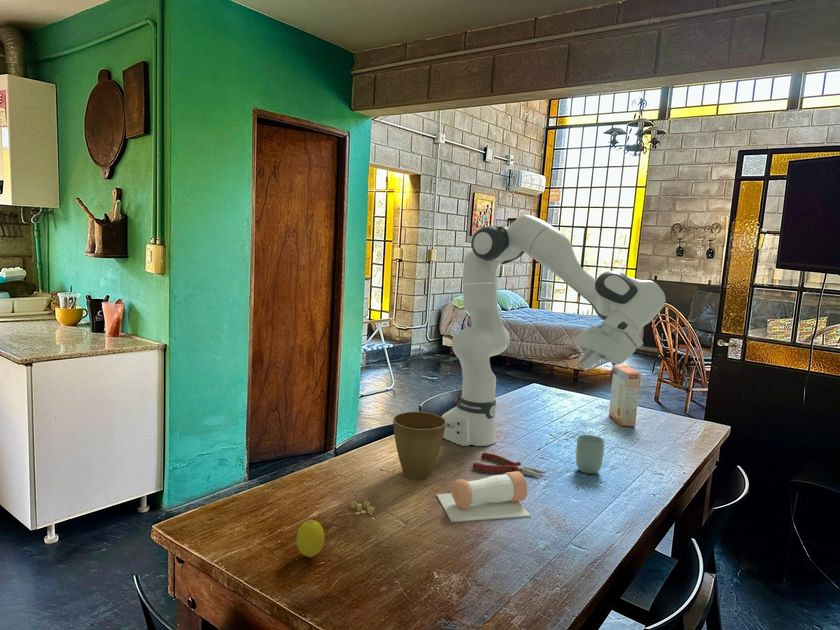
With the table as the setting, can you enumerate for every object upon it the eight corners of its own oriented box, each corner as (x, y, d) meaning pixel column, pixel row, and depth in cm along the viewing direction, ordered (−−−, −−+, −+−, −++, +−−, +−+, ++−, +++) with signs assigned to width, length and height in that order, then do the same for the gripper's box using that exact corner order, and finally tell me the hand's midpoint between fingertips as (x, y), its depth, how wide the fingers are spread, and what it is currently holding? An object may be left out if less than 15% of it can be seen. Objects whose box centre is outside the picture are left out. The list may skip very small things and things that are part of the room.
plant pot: (379, 473, 156) (381, 418, 154) (415, 459, 167) (418, 408, 165) (418, 490, 146) (421, 432, 144) (453, 475, 157) (457, 420, 155)
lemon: (298, 549, 115) (298, 513, 114) (324, 549, 116) (325, 513, 115) (294, 564, 110) (295, 527, 109) (322, 564, 110) (323, 527, 109)
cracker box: (636, 427, 210) (641, 373, 207) (620, 426, 210) (625, 372, 207) (623, 416, 224) (628, 365, 221) (608, 415, 224) (613, 364, 221)
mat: (508, 491, 148) (508, 489, 148) (530, 516, 135) (530, 515, 135) (436, 495, 144) (436, 494, 144) (451, 522, 130) (451, 520, 130)
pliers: (540, 486, 154) (540, 477, 154) (470, 471, 161) (471, 463, 161) (547, 471, 164) (547, 463, 164) (482, 458, 172) (482, 450, 172)
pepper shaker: (524, 506, 141) (456, 517, 133) (510, 489, 147) (444, 498, 140) (529, 481, 138) (460, 491, 131) (514, 465, 145) (448, 473, 138)
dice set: (349, 508, 136) (350, 501, 135) (370, 507, 137) (370, 499, 137) (352, 518, 131) (353, 510, 131) (374, 516, 132) (374, 509, 132)
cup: (603, 478, 160) (606, 445, 159) (575, 474, 162) (578, 441, 161) (600, 468, 168) (603, 436, 167) (573, 464, 169) (576, 433, 168)
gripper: (590, 316, 159) (557, 350, 158) (633, 327, 139) (595, 365, 138) (603, 332, 160) (569, 365, 159) (647, 345, 141) (609, 383, 140)
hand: (582, 365), depth 149 cm, fingers closed
